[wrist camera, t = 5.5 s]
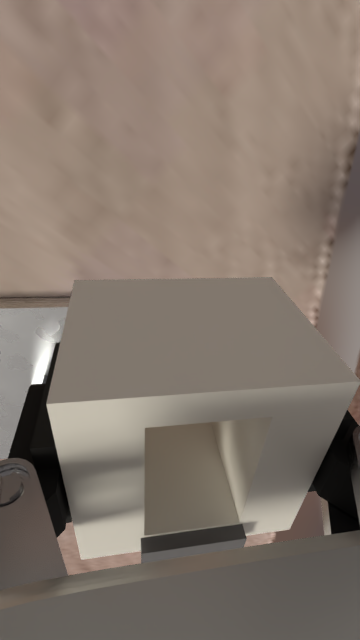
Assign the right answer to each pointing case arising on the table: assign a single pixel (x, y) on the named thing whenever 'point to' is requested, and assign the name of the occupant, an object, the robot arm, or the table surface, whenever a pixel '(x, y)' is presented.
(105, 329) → the cream slotted block
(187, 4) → the table surface
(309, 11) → the table surface
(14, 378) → the base
